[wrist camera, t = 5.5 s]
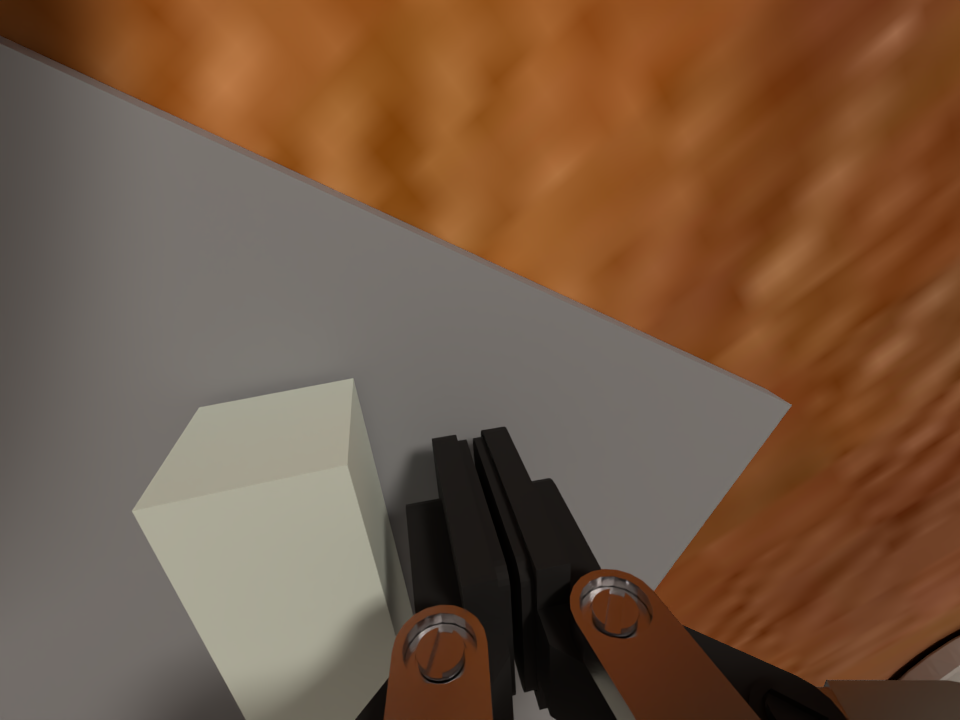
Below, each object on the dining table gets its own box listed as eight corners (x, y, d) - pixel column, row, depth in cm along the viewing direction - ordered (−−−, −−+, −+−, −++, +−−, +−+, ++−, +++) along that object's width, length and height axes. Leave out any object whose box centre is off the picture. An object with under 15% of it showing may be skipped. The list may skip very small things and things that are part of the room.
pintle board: (764, 388, 14) (1021, 547, 9) (452, 824, 20) (484, 1082, 15) (-151, -35, 7) (-2026, -679, 2) (-204, 827, 13) (-618, 1321, 8)
